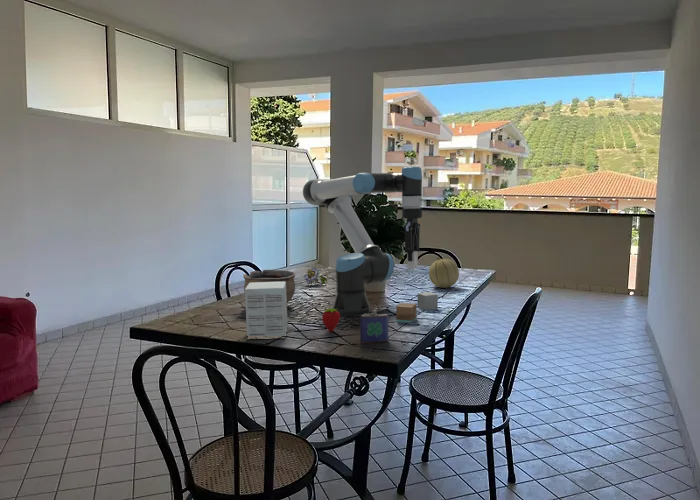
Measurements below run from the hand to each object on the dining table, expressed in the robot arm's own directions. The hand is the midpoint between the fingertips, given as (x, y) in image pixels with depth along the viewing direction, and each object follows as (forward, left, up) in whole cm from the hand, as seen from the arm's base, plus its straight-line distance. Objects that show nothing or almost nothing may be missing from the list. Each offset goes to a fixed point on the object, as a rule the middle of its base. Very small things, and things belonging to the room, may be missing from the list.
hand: (412, 268), depth 197 cm
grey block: (+9, +12, -19) cm, 24 cm away
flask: (-20, -32, -19) cm, 42 cm away
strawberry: (-33, -18, -19) cm, 42 cm away
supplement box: (-55, -17, -19) cm, 61 cm away
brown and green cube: (-4, -7, -19) cm, 20 cm away
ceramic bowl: (-56, +25, -19) cm, 64 cm away
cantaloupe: (+28, +53, -19) cm, 63 cm away
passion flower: (-35, +75, -19) cm, 85 cm away
